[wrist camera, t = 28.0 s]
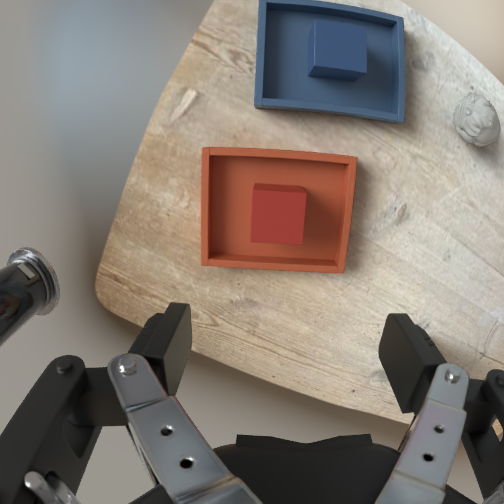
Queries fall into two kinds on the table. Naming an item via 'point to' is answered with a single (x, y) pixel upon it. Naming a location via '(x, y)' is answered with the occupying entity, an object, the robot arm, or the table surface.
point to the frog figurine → (477, 120)
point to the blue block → (337, 51)
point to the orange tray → (284, 173)
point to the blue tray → (323, 89)
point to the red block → (278, 214)
